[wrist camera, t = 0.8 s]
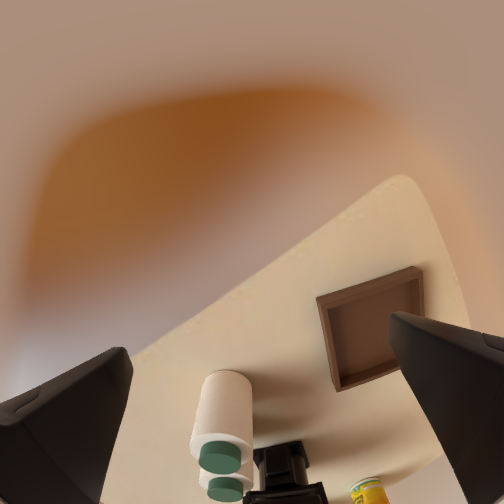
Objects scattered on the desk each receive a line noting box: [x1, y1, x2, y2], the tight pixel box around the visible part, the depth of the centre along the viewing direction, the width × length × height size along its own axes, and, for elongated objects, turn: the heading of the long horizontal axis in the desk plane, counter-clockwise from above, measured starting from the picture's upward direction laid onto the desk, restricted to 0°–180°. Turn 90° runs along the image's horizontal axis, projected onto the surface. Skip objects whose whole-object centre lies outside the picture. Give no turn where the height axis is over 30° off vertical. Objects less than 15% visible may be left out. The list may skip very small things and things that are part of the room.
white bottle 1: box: [190, 370, 253, 475], centre depth 22 cm, size 5×5×10 cm
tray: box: [316, 266, 424, 392], centre depth 24 cm, size 10×10×2 cm
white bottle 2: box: [199, 455, 253, 502], centre depth 23 cm, size 5×5×10 cm
